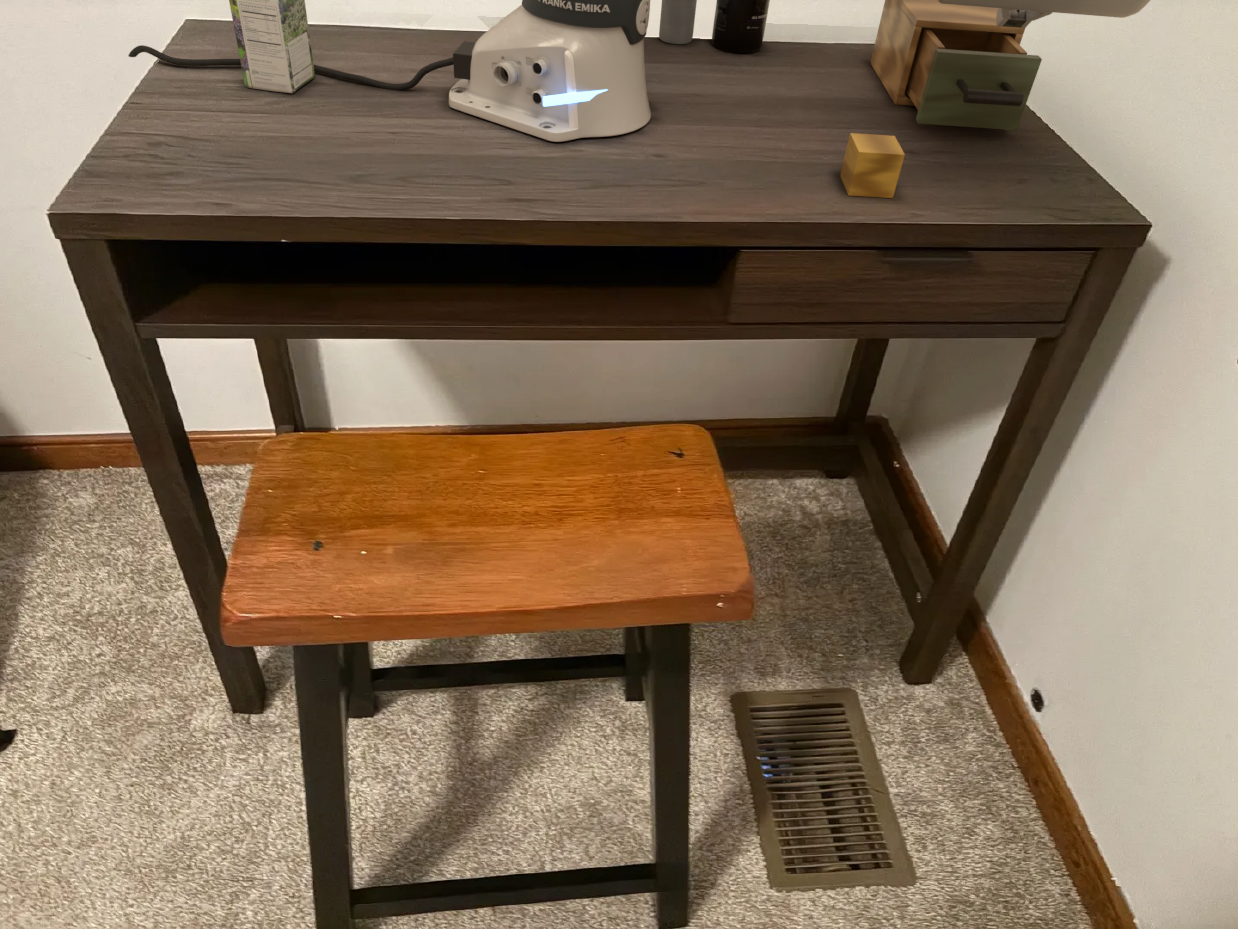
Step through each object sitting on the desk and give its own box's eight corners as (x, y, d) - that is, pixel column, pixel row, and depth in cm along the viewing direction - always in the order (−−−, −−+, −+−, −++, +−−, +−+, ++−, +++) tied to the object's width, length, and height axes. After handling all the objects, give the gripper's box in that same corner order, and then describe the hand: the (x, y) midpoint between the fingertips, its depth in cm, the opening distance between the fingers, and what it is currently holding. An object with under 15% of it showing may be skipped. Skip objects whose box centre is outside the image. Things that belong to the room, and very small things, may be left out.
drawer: (1031, 147, 101) (1058, 74, 96) (929, 141, 100) (950, 67, 95) (981, 87, 115) (1003, 20, 110) (891, 81, 114) (908, 13, 109)
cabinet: (997, 111, 111) (1025, 26, 105) (894, 104, 111) (917, 19, 104) (963, 69, 122) (987, -10, 116) (870, 63, 122) (888, -17, 115)
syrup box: (269, 71, 106) (243, -72, 96) (318, 77, 105) (296, -66, 96) (244, 88, 102) (214, -60, 92) (294, 95, 101) (269, -53, 91)
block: (848, 195, 91) (858, 151, 88) (839, 175, 94) (850, 132, 91) (892, 198, 91) (905, 154, 88) (883, 178, 95) (894, 135, 92)
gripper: (1199, -89, 81) (1109, -2, 95) (973, -109, 81) (914, -18, 94) (1198, -20, 81) (1107, 57, 95) (971, -39, 80) (912, 42, 94)
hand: (1009, 20), depth 95 cm, fingers closed
